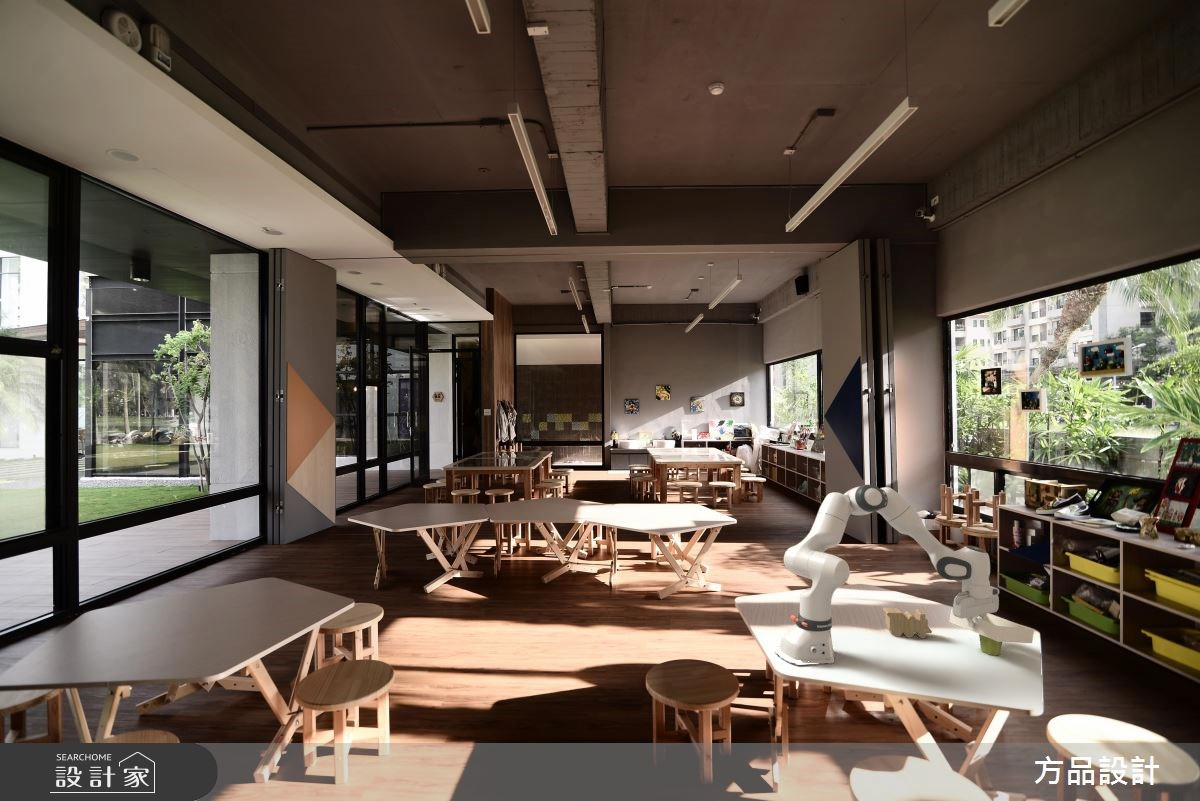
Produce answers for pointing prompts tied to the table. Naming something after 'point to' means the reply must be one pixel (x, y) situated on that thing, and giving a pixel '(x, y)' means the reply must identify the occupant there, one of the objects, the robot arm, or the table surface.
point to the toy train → (906, 622)
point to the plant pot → (990, 645)
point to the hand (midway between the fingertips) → (975, 626)
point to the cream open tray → (996, 628)
